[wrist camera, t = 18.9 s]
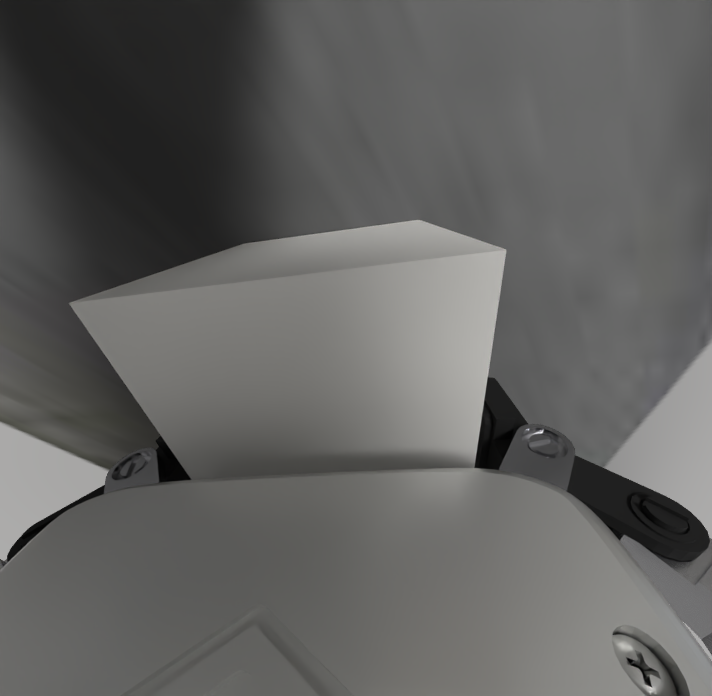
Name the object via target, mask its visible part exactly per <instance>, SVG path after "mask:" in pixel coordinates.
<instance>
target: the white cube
mask: <svg viewBox="0 0 712 696" xmlns="http://www.w3.org/2000/svg"><path fill="white" fill-rule="evenodd" d="M505 256H506V249H503V248H500V247H497V246H494V245H491V244H488V243H485V242H482V241H480V240H477V239H474V238H471V237H468V236H465V235H462V234H459V233H456V232H453V231H450V230H447V229H444V228H441V227H438V226H436V225H433V224H430V223H427V222H424V221H421V220H414V221H406V222H399V223H392V224H384V225H377V226H370V227H362V228H355V229H348V230H340V231H333V232H326V233H318V234H311V235H304V236H296V237H289V238H282V239H274V240H267V241H260V242H252V243H245V244H241V245H238V246H235V247H232V248H230V249H227V250H224V251H221V252H218V253H215V254H212V255H209V256H206V257H203V258H200V259H197V260H194V261H191V262H188V263H185V264H182V265H179V266H176V267H174V268H171V269H168V270H165V271H162V272H159V273H156V274H153V275H150V276H147V277H144V278H141V279H138V280H135V281H132V282H129V283H126V284H123V285H120V286H117V287H115V288H112V289H109V290H106V291H103V292H100V293H97V294H94V295H91V296H88V297H85V298H82V299H79V300H76V301H73V302H70V303H69V304H70V306H71V307H72V309H73V310H74V312H75V313H76V314H77V316H78V317H79V319H80V320H81V322H82V323H83V324H84V326H85V327H86V329H87V330H88V332H89V333H90V334H91V336H92V337H93V339H94V340H95V342H96V343H97V345H98V346H99V347H100V349H101V350H102V352H103V353H104V355H105V356H106V357H107V359H108V360H109V362H110V363H111V365H112V366H113V368H114V369H115V370H116V372H117V373H118V375H119V376H120V378H121V379H122V380H123V382H124V383H125V385H126V386H127V388H128V389H129V391H130V392H131V393H132V395H133V396H134V398H135V399H136V401H137V402H138V403H139V405H140V406H141V408H142V409H143V411H144V412H145V413H146V415H147V416H148V418H149V419H150V421H151V422H152V424H153V425H154V426H155V428H156V429H157V431H158V432H159V434H160V435H161V436H162V438H163V439H164V441H165V442H166V444H167V445H168V447H169V448H170V449H171V451H172V452H173V454H174V455H175V457H176V458H177V459H178V461H179V462H180V464H181V465H182V467H183V468H184V470H185V471H186V472H187V474H188V475H189V477H190V478H191V480H198V479H215V478H233V477H251V476H270V475H290V474H310V473H331V472H353V471H376V470H399V469H431V468H474V466H475V460H476V453H477V446H478V439H479V432H480V426H481V419H482V412H483V405H484V398H485V392H486V385H487V378H488V371H489V365H490V358H491V351H492V344H493V337H494V331H495V324H496V317H497V310H498V303H499V297H500V290H501V283H502V276H503V269H504V263H505Z"/></svg>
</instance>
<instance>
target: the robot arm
mask: <svg viewBox="0 0 712 696" xmlns="http://www.w3.org/2000/svg"><path fill="white" fill-rule="evenodd" d="M156 442H157V444H158V445H159V448H158V449H157V450H155V449H153V448H143V449H139V450H137V451H134V452H132V453H130V454H128V455H127V456H125V457H124V458H122V459H121V460H120V461H118V462H117V463H116V464H115V465H114V466H113V467H112V468H111V469H110V471H109V472H108V474H107V476H106V481H105V485H104V486H102V487H100V488H98V489H96V490H95V491H93V492H91V493H89V494H87V495H86V496H84V497H82V498H80V499H79V500H77V501H75V502H73V503H71V504H70V505H68V506H66V507H64V508H62V509H61V510H59V511H57V512H55V513H54V514H52V515H50V516H48V517H46V518H45V519H43V520H41V521H39V522H37V523H36V524H34V525H33V526H31V527H30V528H29V529H28V530H27V531H26V532H25V533H23V535H22V536H21V537H20V538H19V539H18V540H17V541H16V543H15V544H14V545H13V546H12V548H11V549H10V551H9V553H8V555H7V559H6V560H5V561H3V560H1V559H0V696H712V661H711V659H710V658H709V657H708V655H707V654H706V653H705V651H704V650H703V649H702V647H701V646H700V644H699V643H698V642H697V641H696V639H695V638H694V636H693V635H692V634H691V632H690V631H689V629H688V628H687V627H686V626H685V624H684V623H686V624H687V625H688V626H689V627H690V628H691V629H692V630H693V631H694V632H695V633H696V634H697V635H698V636H699V637H700V639H701V640H702V641H703V642H704V644H705V646H706V647H707V648H708V650H709V651H710V653H711V654H712V539H711V538H709V536H708V532H707V530H706V529H705V527H704V526H703V525H702V523H701V522H700V521H699V520H698V519H697V518H696V517H695V516H694V515H693V514H692V513H691V512H690V511H688V510H687V509H686V508H684V507H683V506H682V505H680V504H679V503H677V502H675V501H674V500H672V499H670V498H668V497H666V496H664V495H662V494H660V493H657V492H655V491H653V490H651V489H649V488H646V487H644V486H642V485H640V484H638V483H635V482H633V481H631V480H629V479H627V478H624V477H622V476H620V475H618V474H615V473H613V472H611V471H609V470H607V469H604V468H602V467H600V466H598V465H595V464H593V463H591V462H589V461H587V460H584V459H582V458H580V457H578V456H575V448H574V446H573V444H572V442H571V441H570V440H569V439H568V438H567V437H566V436H565V435H563V434H562V433H560V432H559V431H557V430H555V429H553V428H550V427H548V426H544V425H540V424H528V423H527V422H526V420H525V419H524V418H523V416H522V415H521V413H520V412H519V411H518V409H517V408H516V407H515V405H514V404H513V402H512V401H511V400H510V398H509V397H508V396H507V394H506V393H505V391H504V390H503V389H502V387H501V386H500V385H499V383H498V382H497V381H496V379H495V378H487V385H486V392H485V398H484V405H483V412H482V419H481V426H480V432H479V439H478V446H477V453H476V460H475V466H474V468H431V469H399V470H376V471H353V472H331V473H310V474H290V475H270V476H251V477H233V478H215V479H198V480H191V478H190V477H189V475H188V474H187V472H186V471H185V470H184V468H183V467H182V465H181V464H180V462H179V461H178V459H177V458H176V457H175V455H174V454H173V452H172V451H171V449H170V448H169V447H168V445H167V444H166V442H165V441H164V439H163V438H162V436H160V437H159V438H158V439H157V440H156ZM682 621H683V622H684V623H683V622H682ZM612 635H614V636H612Z"/></svg>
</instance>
